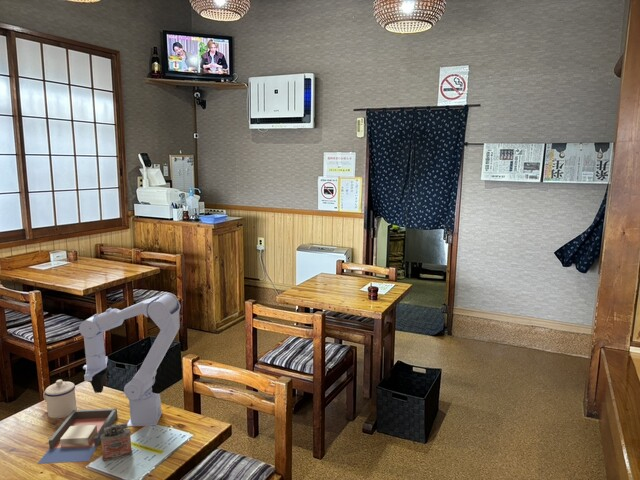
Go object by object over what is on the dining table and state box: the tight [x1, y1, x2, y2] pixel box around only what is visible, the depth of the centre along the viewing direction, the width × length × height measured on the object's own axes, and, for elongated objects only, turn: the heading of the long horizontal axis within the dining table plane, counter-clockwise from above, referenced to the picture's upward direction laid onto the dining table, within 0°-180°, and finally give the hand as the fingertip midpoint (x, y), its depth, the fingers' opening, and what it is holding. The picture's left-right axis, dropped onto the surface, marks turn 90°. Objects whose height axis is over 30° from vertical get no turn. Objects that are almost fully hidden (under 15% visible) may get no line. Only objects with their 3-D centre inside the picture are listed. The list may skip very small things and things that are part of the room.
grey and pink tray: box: [48, 408, 118, 449], centre depth 150 cm, size 14×17×3 cm
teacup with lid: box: [42, 379, 78, 419], centre depth 161 cm, size 12×9×12 cm
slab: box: [60, 425, 97, 447], centre depth 146 cm, size 8×7×2 cm
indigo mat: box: [37, 446, 99, 465], centre depth 138 cm, size 14×7×1 cm, turn 95°
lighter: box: [100, 422, 133, 462], centre depth 137 cm, size 8×3×10 cm, turn 113°
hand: (98, 391), depth 157 cm, fingers closed
